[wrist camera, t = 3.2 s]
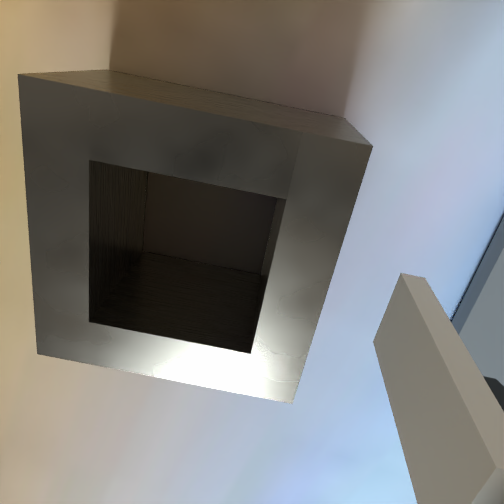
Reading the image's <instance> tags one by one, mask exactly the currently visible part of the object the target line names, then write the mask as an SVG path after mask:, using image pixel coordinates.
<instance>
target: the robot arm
mask: <svg viewBox="0 0 504 504" xmlns="http://www.w3.org/2000/svg"><path fill="white" fill-rule="evenodd" d="M373 343H374V347H375V350H376V354H377V357H378V361H379V365H380V368H381V372H382V376H383V379H384V383H385V387H386V390H387V394H388V398H389V401H390V405H391V409H392V412H393V416H394V419H395V423H396V427H397V430H398V434H399V438H400V441H401V445H402V449H403V452H404V456H405V460H406V463H407V467H408V471H409V474H410V478H411V481H412V485H413V489H414V492H415V496H416V500H417V503H418V504H504V386H503V385H502V384H501V383H500V382H499V381H498V380H497V379H495V378H490V377H485V376H482V374H481V372H480V371H479V369H478V367H477V365H476V364H475V362H474V360H473V359H472V357H471V355H470V354H469V352H468V350H467V348H466V347H465V345H464V343H463V342H462V340H461V338H460V337H459V335H458V333H457V332H456V330H455V328H454V326H453V325H452V323H451V321H450V320H449V318H448V316H447V315H446V313H445V311H444V309H443V308H442V306H441V304H440V303H439V301H438V299H437V298H436V296H435V294H434V292H433V291H432V289H431V287H430V286H429V284H428V282H427V281H426V279H425V278H423V277H418V276H413V275H408V274H404V273H401V274H400V276H399V279H398V281H397V284H396V286H395V289H394V291H393V294H392V296H391V299H390V301H389V304H388V306H387V309H386V311H385V314H384V316H383V319H382V321H381V323H380V326H379V328H378V331H377V333H376V336H375V338H374V341H373Z"/></svg>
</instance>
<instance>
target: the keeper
mask: <svg viewBox="0 0 504 504" xmlns="http://www.w3.org/2000/svg"><path fill="white" fill-rule="evenodd" d="M451 323H452V325H453V326H454V328H455V330H456V332H457V333H458V335H459V337H460V338H461V340H462V342H463V343H464V345H465V347H466V348H467V350H468V352H469V354H470V355H471V357H472V359H473V360H474V362H475V364H476V365H477V367H478V369H479V371H480V372H481V374H482V376H485V377H490V378H495V379H497V380H498V381H499V382H500V383H501V384H502V385H503V386H504V217H503V219H502V221H501V223H500V225H499V227H498V229H497V231H496V233H495V235H494V237H493V239H492V241H491V243H490V245H489V247H488V249H487V251H486V254H485V256H484V258H483V260H482V262H481V264H480V266H479V268H478V270H477V272H476V274H475V276H474V278H473V280H472V282H471V284H470V286H469V288H468V290H467V292H466V294H465V296H464V298H463V300H462V302H461V304H460V306H459V308H458V310H457V312H456V314H455V316H454V318H453V320H452V322H451Z"/></svg>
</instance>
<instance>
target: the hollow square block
mask: <svg viewBox="0 0 504 504" xmlns="http://www.w3.org/2000/svg"><path fill="white" fill-rule="evenodd" d="M18 85H19V99H20V114H21V128H22V142H23V157H24V171H25V185H26V200H27V214H28V228H29V243H30V257H31V271H32V286H33V300H34V314H35V329H36V343H37V354H40V355H45V356H50V357H55V358H60V359H66V360H71V361H76V362H81V363H86V364H91V365H96V366H101V367H107V368H112V369H117V370H122V371H127V372H132V373H137V374H142V375H147V376H153V377H158V378H163V379H168V380H173V381H178V382H183V383H188V384H193V385H199V386H204V387H209V388H214V389H219V390H224V391H229V392H234V393H239V394H245V395H250V396H255V397H260V398H265V399H270V400H275V401H280V402H285V403H291V404H292V403H293V400H294V397H295V394H296V390H297V387H298V384H299V381H300V378H301V374H302V371H303V368H304V365H305V362H306V358H307V355H308V352H309V349H310V346H311V342H312V339H313V336H314V333H315V330H316V326H317V323H318V320H319V317H320V314H321V310H322V307H323V304H324V301H325V298H326V294H327V291H328V288H329V285H330V282H331V278H332V275H333V272H334V269H335V266H336V262H337V259H338V256H339V253H340V250H341V247H342V243H343V240H344V237H345V234H346V231H347V227H348V224H349V221H350V218H351V215H352V211H353V208H354V205H355V202H356V199H357V195H358V192H359V189H360V186H361V183H362V179H363V176H364V173H365V170H366V167H367V163H368V160H369V157H370V154H371V151H372V147H373V146H372V145H371V144H370V143H369V142H368V141H367V140H366V139H365V138H364V137H363V136H362V135H361V134H360V133H359V132H358V131H357V130H356V129H355V128H354V127H353V126H352V125H351V124H350V123H349V122H348V121H347V120H346V119H345V118H341V117H337V116H332V115H327V114H322V113H317V112H312V111H307V110H302V109H297V108H292V107H287V106H282V105H278V104H273V103H268V102H263V101H258V100H253V99H248V98H243V97H238V96H233V95H228V94H223V93H218V92H214V91H209V90H204V89H199V88H194V87H189V86H184V85H179V84H174V83H169V82H164V81H159V80H154V79H150V78H145V77H140V76H135V75H130V74H125V73H120V72H115V71H110V70H88V71H68V72H48V73H27V74H18ZM147 172H153V173H158V174H163V175H168V176H173V177H178V178H183V179H188V180H193V181H198V182H203V183H208V184H212V185H217V186H222V187H227V188H232V189H237V190H242V191H247V192H252V193H257V194H262V195H267V196H272V197H277V201H276V206H275V211H274V215H273V220H272V224H271V229H270V233H269V238H268V242H267V247H266V251H265V256H264V260H263V265H262V269H261V274H260V275H259V274H254V273H249V272H244V271H239V270H234V269H229V268H224V267H218V266H213V265H208V264H203V263H198V262H193V261H188V260H183V259H178V258H173V257H168V256H163V255H158V254H153V253H148V252H143V251H142V245H143V231H144V216H145V202H146V187H147Z"/></svg>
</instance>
